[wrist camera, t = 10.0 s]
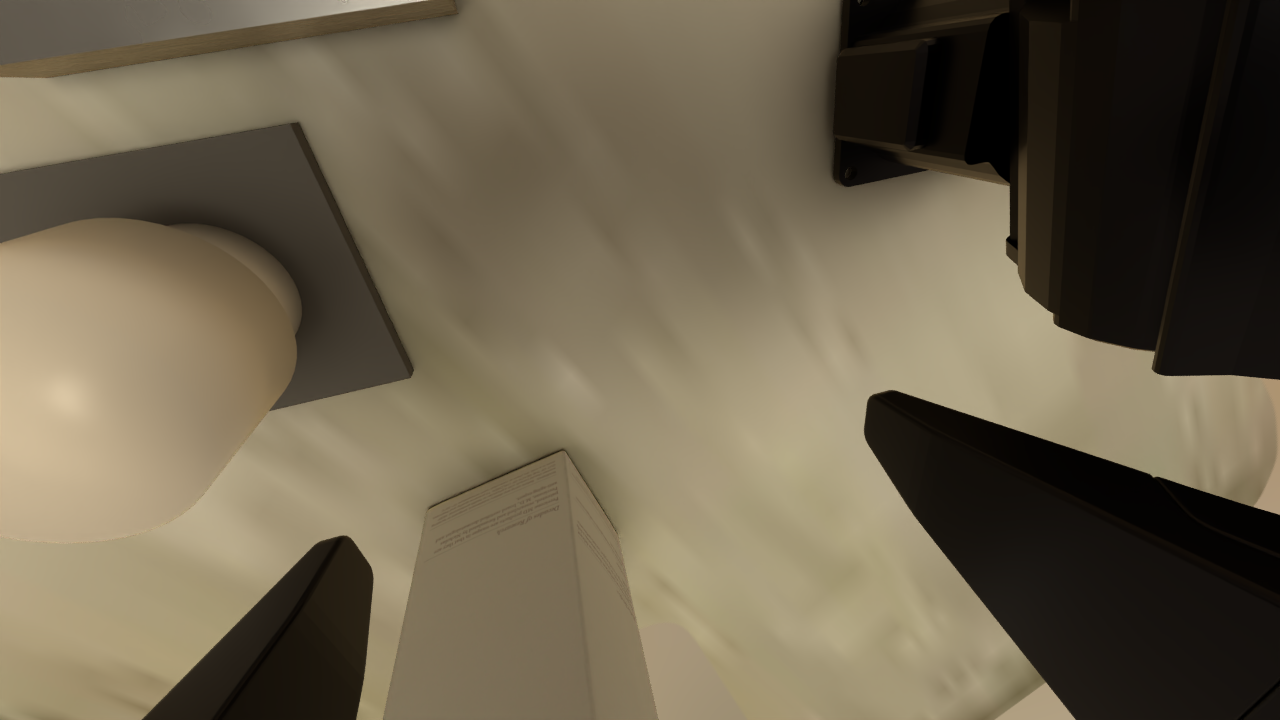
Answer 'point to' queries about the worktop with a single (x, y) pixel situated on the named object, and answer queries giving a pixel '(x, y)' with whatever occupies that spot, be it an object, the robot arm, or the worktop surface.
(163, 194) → the rubber mat
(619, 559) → the supplement box
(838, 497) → the worktop surface
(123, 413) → the end cover
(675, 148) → the worktop surface
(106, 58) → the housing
